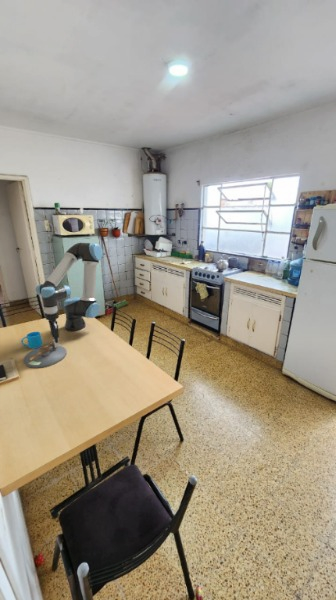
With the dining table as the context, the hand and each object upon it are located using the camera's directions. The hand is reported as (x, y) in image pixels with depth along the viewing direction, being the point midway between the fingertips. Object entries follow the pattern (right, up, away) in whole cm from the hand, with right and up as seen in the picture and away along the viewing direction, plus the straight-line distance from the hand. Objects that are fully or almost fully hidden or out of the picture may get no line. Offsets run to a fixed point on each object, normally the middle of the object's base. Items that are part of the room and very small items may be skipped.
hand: (57, 346), depth 161 cm
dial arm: (-5, -4, -6) cm, 8 cm away
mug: (-20, -1, +7) cm, 21 cm away
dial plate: (-5, -5, -5) cm, 9 cm away
